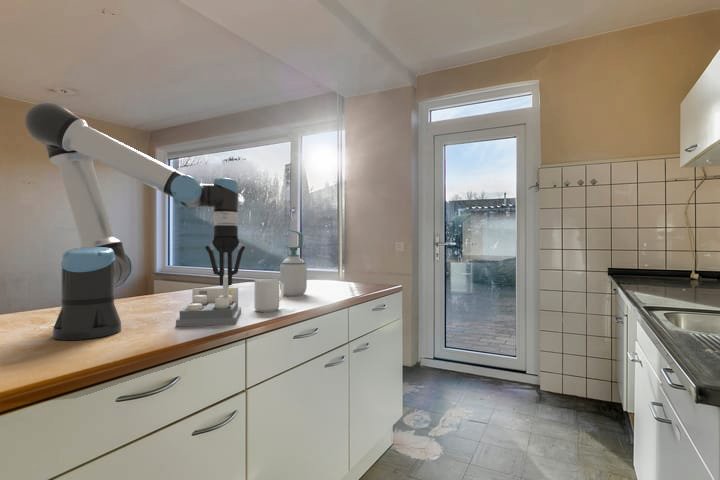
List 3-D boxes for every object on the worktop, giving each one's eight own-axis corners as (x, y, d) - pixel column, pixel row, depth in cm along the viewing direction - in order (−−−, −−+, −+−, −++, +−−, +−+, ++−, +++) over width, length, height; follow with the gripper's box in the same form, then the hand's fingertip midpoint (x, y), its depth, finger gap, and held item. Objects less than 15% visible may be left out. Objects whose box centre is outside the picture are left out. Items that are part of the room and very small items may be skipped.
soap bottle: (285, 292, 183) (285, 229, 183) (309, 293, 182) (310, 229, 182) (276, 296, 171) (276, 228, 171) (302, 297, 169) (302, 228, 169)
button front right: (213, 309, 115) (213, 300, 115) (215, 307, 119) (215, 298, 119) (228, 309, 116) (228, 299, 116) (229, 307, 120) (229, 297, 120)
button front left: (185, 315, 113) (185, 305, 113) (188, 313, 117) (188, 303, 117) (200, 315, 114) (200, 305, 114) (203, 312, 118) (203, 303, 118)
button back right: (217, 306, 123) (217, 297, 123) (219, 304, 127) (219, 295, 127) (231, 305, 124) (231, 296, 124) (232, 303, 128) (232, 295, 128)
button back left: (191, 306, 121) (191, 297, 121) (194, 304, 125) (194, 295, 125) (205, 305, 122) (205, 296, 122) (207, 303, 126) (207, 294, 126)
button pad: (175, 326, 111) (176, 296, 111) (189, 314, 129) (189, 288, 129) (235, 324, 115) (235, 294, 115) (241, 312, 133) (241, 287, 133)
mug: (264, 313, 132) (264, 282, 132) (249, 310, 137) (249, 280, 137) (290, 308, 141) (290, 279, 141) (275, 306, 147) (275, 277, 147)
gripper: (203, 224, 120) (203, 297, 120) (245, 224, 123) (245, 296, 123) (207, 225, 128) (207, 294, 128) (247, 225, 130) (247, 293, 130)
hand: (226, 295), depth 125 cm, fingers closed
